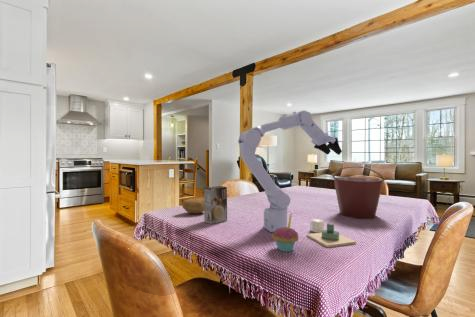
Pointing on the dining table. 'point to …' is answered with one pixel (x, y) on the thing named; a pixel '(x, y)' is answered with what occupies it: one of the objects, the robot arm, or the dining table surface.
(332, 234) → the beige square tray
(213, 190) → the coffee box
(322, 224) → the cap
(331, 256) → the dining table surface
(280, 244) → the cupcake
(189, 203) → the potato
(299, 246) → the dining table surface
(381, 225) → the dining table surface
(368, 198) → the bucket
